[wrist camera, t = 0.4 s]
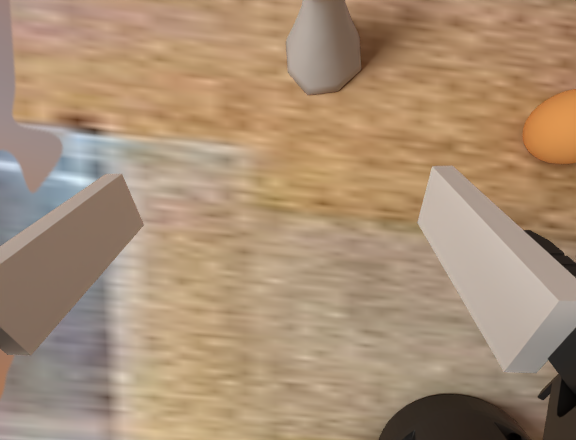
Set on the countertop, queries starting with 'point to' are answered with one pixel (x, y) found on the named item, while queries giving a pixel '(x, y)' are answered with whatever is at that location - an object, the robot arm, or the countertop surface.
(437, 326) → the countertop surface
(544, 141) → the ball
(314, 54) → the flask
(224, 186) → the countertop surface
